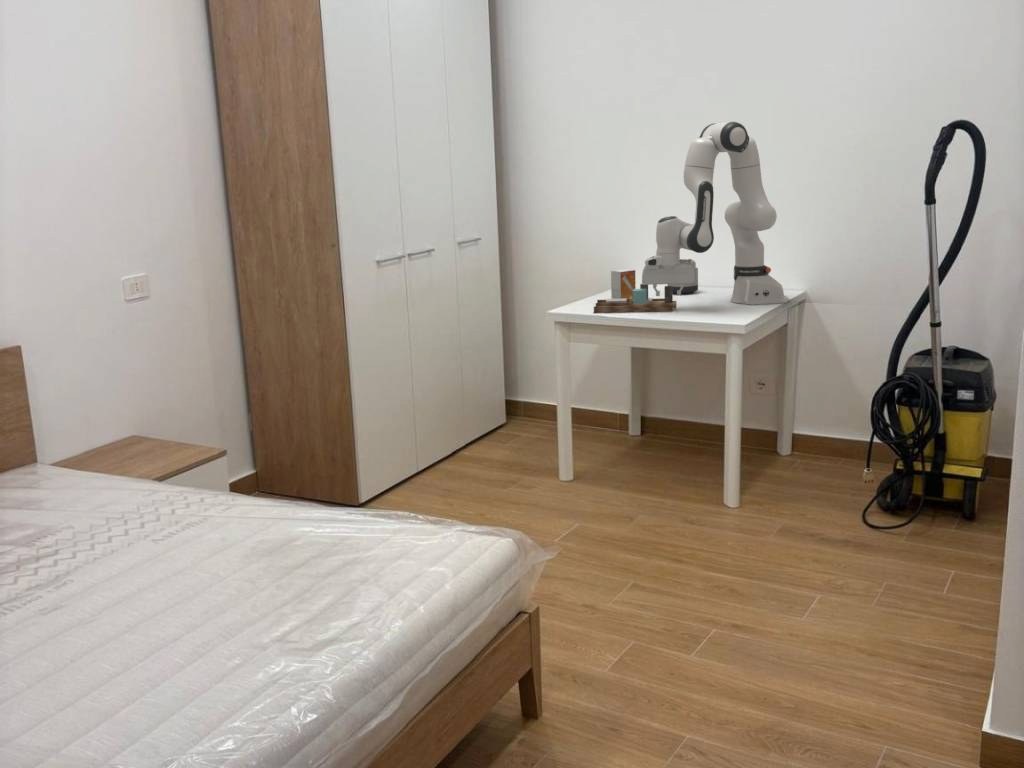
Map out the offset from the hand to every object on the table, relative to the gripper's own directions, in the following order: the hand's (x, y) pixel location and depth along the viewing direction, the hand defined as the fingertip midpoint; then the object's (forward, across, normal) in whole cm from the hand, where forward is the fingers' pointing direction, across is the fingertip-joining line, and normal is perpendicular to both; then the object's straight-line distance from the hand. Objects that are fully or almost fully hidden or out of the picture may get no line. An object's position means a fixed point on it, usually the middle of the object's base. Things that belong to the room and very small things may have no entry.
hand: (668, 295), depth 378 cm
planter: (+6, -6, -42) cm, 43 cm away
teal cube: (+2, +11, 0) cm, 11 cm away
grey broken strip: (+5, +15, -8) cm, 18 cm away
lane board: (+6, +14, -4) cm, 15 cm away
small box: (+6, +18, -22) cm, 29 cm away
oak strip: (+5, +6, 0) cm, 7 cm away
